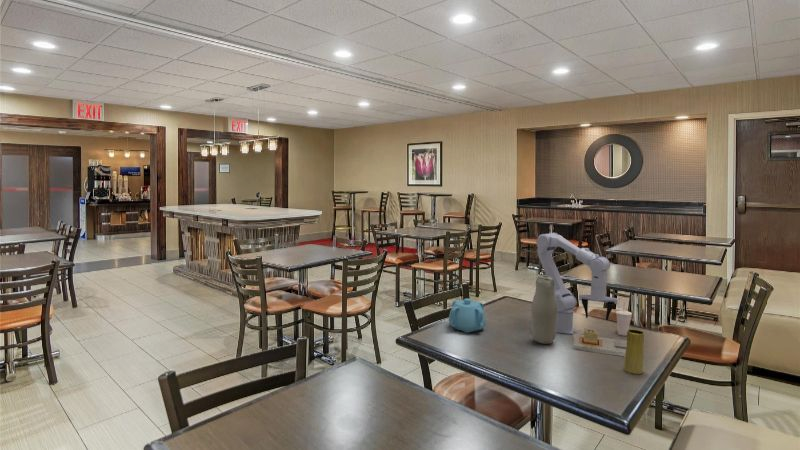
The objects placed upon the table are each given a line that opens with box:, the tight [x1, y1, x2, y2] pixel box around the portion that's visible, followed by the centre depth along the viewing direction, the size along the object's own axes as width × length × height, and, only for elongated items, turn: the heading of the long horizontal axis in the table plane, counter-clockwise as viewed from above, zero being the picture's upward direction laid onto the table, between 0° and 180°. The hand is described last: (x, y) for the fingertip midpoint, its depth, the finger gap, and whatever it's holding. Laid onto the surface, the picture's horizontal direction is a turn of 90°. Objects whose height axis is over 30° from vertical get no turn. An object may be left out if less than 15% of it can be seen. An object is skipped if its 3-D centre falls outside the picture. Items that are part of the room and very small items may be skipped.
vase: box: [623, 328, 645, 375], centre depth 158 cm, size 6×6×14 cm
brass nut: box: [583, 327, 599, 345], centre depth 182 cm, size 5×5×6 cm
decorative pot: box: [448, 298, 487, 334], centre depth 200 cm, size 16×16×14 cm
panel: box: [572, 333, 627, 358], centre depth 180 cm, size 24×14×2 cm, turn 67°
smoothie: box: [615, 302, 633, 337], centre depth 195 cm, size 6×6×14 cm
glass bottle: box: [530, 274, 558, 345], centre depth 183 cm, size 10×10×28 cm
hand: (596, 318), depth 187 cm, fingers open, 7 cm apart
